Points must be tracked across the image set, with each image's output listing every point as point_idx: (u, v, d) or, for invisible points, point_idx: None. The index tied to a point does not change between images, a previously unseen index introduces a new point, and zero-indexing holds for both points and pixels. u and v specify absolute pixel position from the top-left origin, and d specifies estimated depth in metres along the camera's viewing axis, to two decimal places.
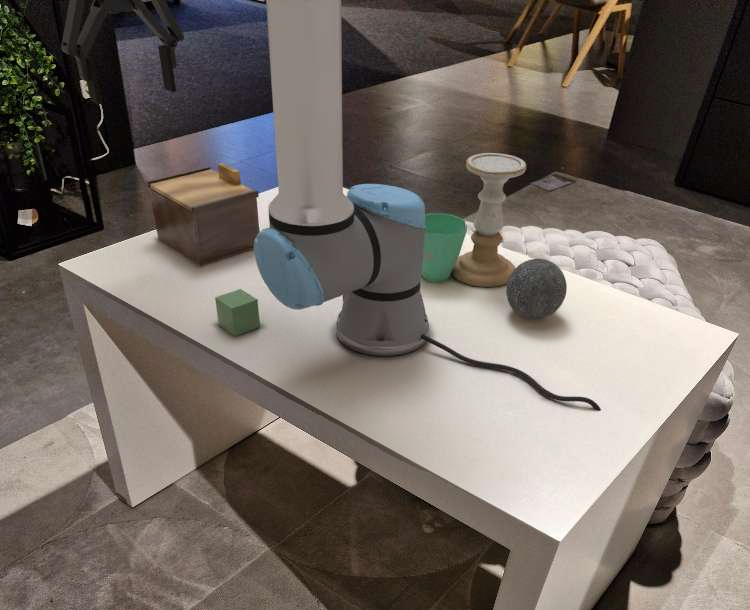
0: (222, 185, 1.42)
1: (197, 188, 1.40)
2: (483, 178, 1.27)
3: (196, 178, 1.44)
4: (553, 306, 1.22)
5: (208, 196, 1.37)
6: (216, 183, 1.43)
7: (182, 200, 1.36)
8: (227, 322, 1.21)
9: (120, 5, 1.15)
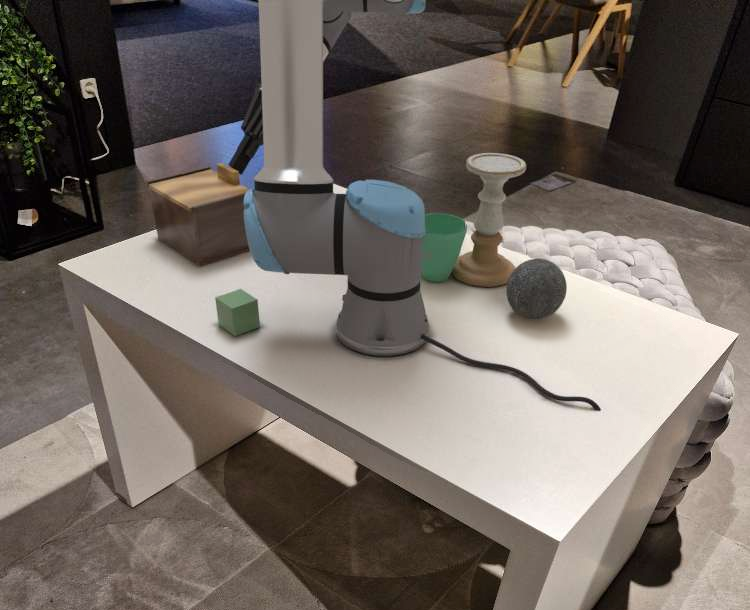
0: (221, 185, 1.42)
1: (196, 188, 1.40)
2: (483, 178, 1.27)
3: (195, 178, 1.44)
4: (553, 306, 1.22)
5: (207, 196, 1.37)
6: (215, 183, 1.42)
7: (180, 200, 1.35)
8: (227, 322, 1.21)
9: None
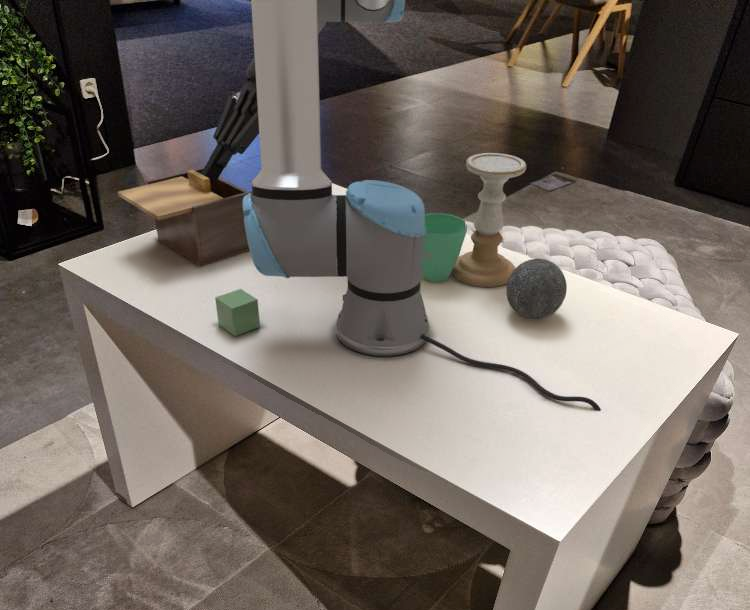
0: (192, 193, 1.38)
1: (166, 196, 1.37)
2: (483, 178, 1.27)
3: (165, 186, 1.41)
4: (553, 306, 1.22)
5: (176, 204, 1.34)
6: (185, 191, 1.39)
7: (149, 209, 1.32)
8: (227, 322, 1.21)
9: (245, 103, 1.38)
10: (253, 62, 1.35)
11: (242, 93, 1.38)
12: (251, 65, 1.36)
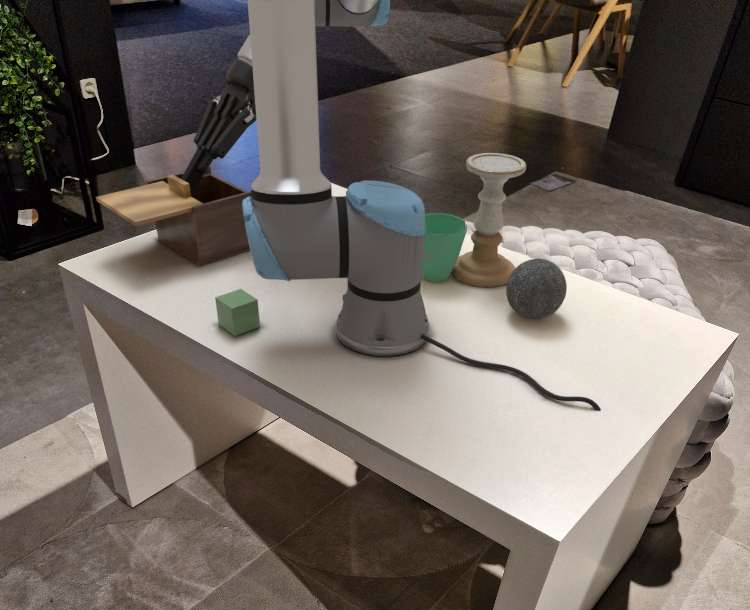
0: (171, 198, 1.36)
1: (145, 201, 1.35)
2: (483, 178, 1.27)
3: (145, 190, 1.39)
4: (553, 306, 1.22)
5: (155, 210, 1.32)
6: (165, 196, 1.37)
7: (127, 214, 1.30)
8: (227, 322, 1.21)
9: None
10: (233, 65, 1.33)
11: (222, 97, 1.36)
12: (231, 68, 1.33)
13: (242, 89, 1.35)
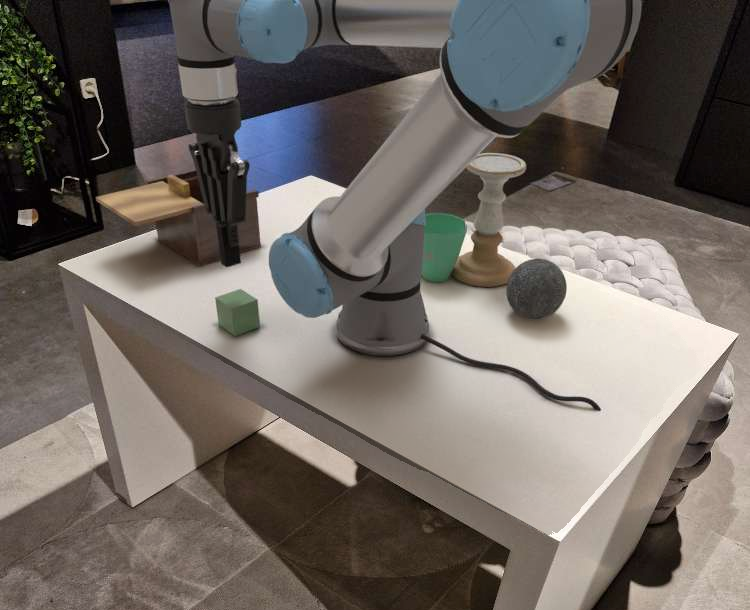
0: (171, 198, 1.36)
1: (144, 201, 1.35)
2: (483, 178, 1.27)
3: (145, 191, 1.39)
4: (553, 306, 1.22)
5: (155, 210, 1.32)
6: (165, 196, 1.37)
7: (126, 214, 1.30)
8: (227, 322, 1.21)
9: None
10: (187, 115, 1.01)
11: (201, 152, 1.06)
12: (188, 120, 1.02)
13: (214, 134, 1.03)
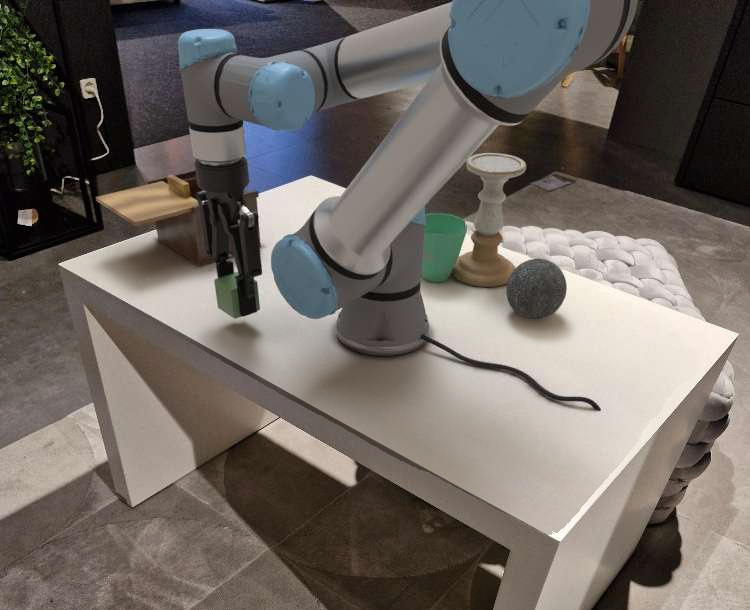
0: (171, 198, 1.36)
1: (144, 201, 1.35)
2: (483, 178, 1.27)
3: (145, 191, 1.39)
4: (553, 306, 1.22)
5: (155, 210, 1.32)
6: (165, 196, 1.37)
7: (126, 214, 1.30)
8: (226, 304, 1.19)
9: (220, 216, 1.11)
10: (197, 174, 1.05)
11: (210, 207, 1.10)
12: (198, 179, 1.06)
13: None
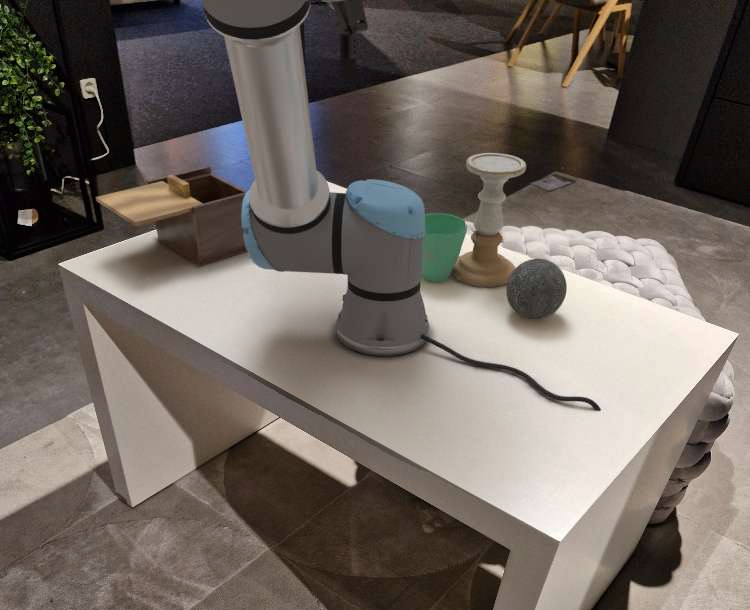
0: (171, 198, 1.36)
1: (144, 201, 1.35)
2: (483, 178, 1.27)
3: (145, 191, 1.39)
4: (553, 306, 1.22)
5: (155, 210, 1.32)
6: (165, 196, 1.37)
7: (126, 214, 1.30)
8: None
9: None
10: None
11: None
12: None
13: None
